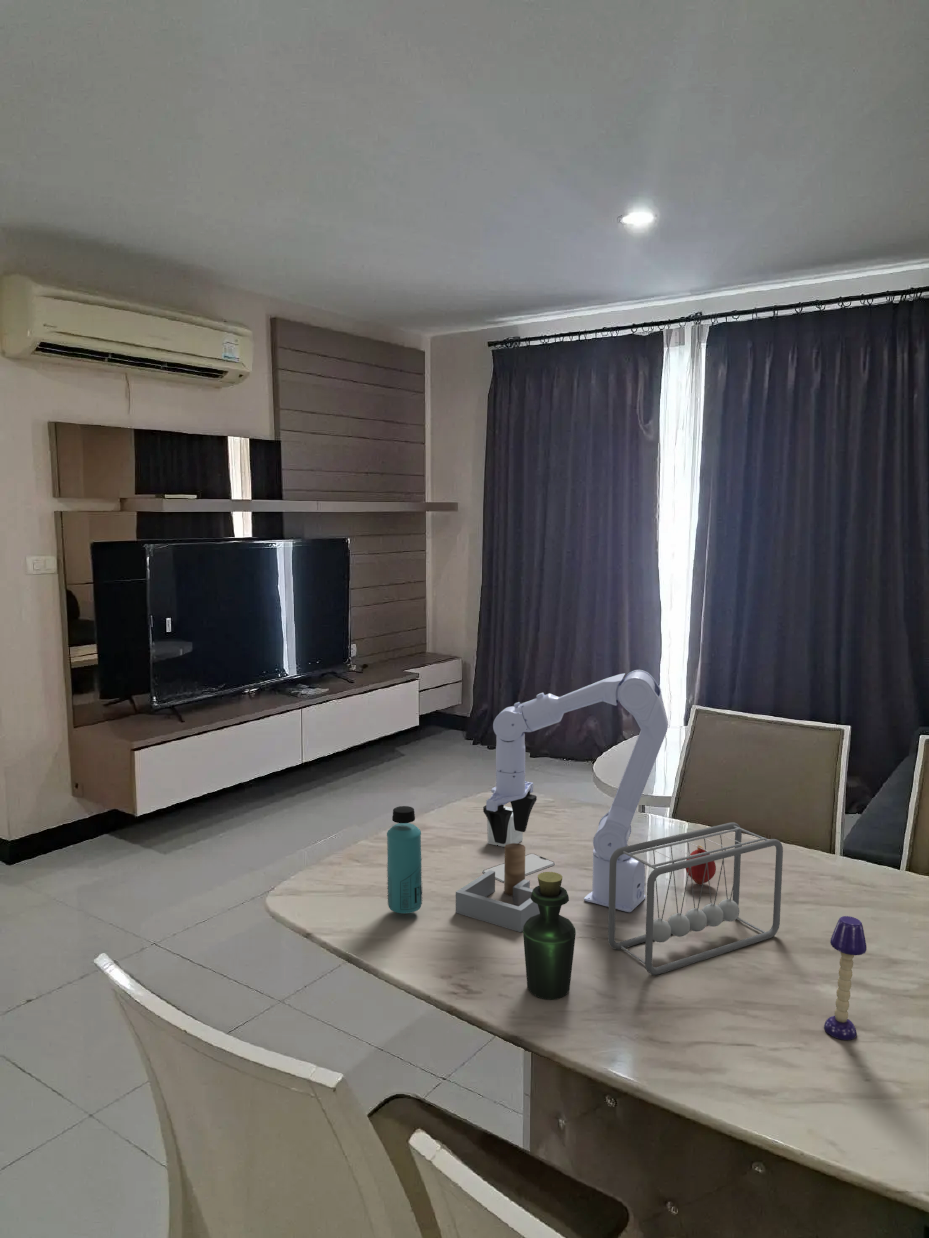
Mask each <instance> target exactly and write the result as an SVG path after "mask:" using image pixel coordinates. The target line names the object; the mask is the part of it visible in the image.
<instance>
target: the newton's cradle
mask: <svg viewBox="0 0 929 1238" xmlns="http://www.w3.org/2000/svg"><path fill="white" fill-rule="evenodd" d="M733 832H734V839H732V838H731V837H729V836H726V835H724V834H728V833H733ZM742 832H743V833H746V834H748V835H751V836H752V837H756V838H758V839H753V840H752V839H751V840H749V841H745V842H742V839H743V838H742V837H743V835H742V834H743V833H742ZM718 835H719V837H720V843H717V842H715V841H712V840H710V839H708V838H711V837H716V836H718ZM722 837H724V838H727V839H730V840H731V841H734V844H732V845H729V846H724V845H723V843H722V842H723V841H722ZM698 840H703V842H704V847H703V848H704V849H703V848H701V849H703V850H705V852H704V853H699V854H695V855H690V854H691V853H690V845H693V846H695V847H696V848H697V847H698V846H699V845H696V844H693V843H692V842H695V841H698ZM706 841H709V842H712V843H713V844H715V845H718V846H720V848H716V849H713V850H707V845H706ZM686 843H687V848H688V850H687V851H688V853H687V852H684V851H683V850H680V849H679V848H677V847H674V846H677V845H681V844H686ZM774 846H775V869H774V871H775V873H774V888H773V890H774V891H773V913H772V915H773V917H772V925H771V927H770V929H769V930H767V931H764V930H763V929H761V928H760V927H758V926H755V925H753V924H751V923H749V922H748V921H746V920H744V919H742V918H740V917H739V916H740V913H741V911H740V907H739V906H740V889H741V888H740V887H741V884H740V883H741V882H740V881H741V865H742V864H741V862H742V861H741V860H742V859H741V855H742V854H747V853H750V852H751V853H752V852H755V851H758V850H762V849H767V848H770V847H771V848H772V847H774ZM668 847H670V853H671V857H668V856H667V855H665V854H662V853H661V852H659V851H656V850H661V849H665V848H668ZM783 847H784V846H783V845H782V842H781V841H780V840H779V839H775V838H770V839H768V838H767V837H763V836H761V835H759V834H756V833H754V832H751V831H749V830H746V829H744V828H742V827H741V826H740V825H739V824H738V823H736V822H734V821H733V822H727V823H723V824H719V825H714V826H710V827H706V828H705V827H704V828H701V829H697V830H693V831H688V832H683V833H678V834H675V835H669V836H666V837H661V838H658V839H653V840H649V841H643V842H639V843H635V844H631V845H630V844H629V845H628V846H625V847H621V848H619V849H617V850H615V851H614V853H613V854H612V856H611V858H610V867H609V907H608V912H607V913H608V914H607V915H608V916H607V917H608V919H607V920H608V922H607V940H608V944H609V947H611V948H612V949H613V950H618V951H619V950H623V951H624V952H626V953H627V954H629V955H630V956H631V957H633V958H634V959H635V960H638V961H639V962H641V963H642V964H644V966H645V970H646V971H647V973H648V974H650V975H652V976H658V975H661V974H664V973H667V972H670V971H673V970H677V969H679V968H683V967H687V966H689V965H693V964H695V963H698V962H702V961H704V960H708V959H710V958H714V957H717V956H719V955H723V954H726V953H729V952H732V951H735V950H738V949H741V948H743V947H747V946H750V945H753V944H757V943H759V942H763V941H765V940H769V939H771V938H773V937H775V935H776V934H777V933H778V931H779V929H780V926H781V925H780V923H781V907H782V906H781V900H782V884H783V883H782V881H783V861H784V860H783V857H784V848H783ZM673 848H674V849H676V850H678V851H680V852H681V853H682V852H683V853H684V854H686V855H687V856H684V857H680V858H676V859H675V858H673ZM699 848H700V847H699ZM652 851H653V852H652ZM706 851H707V852H706ZM630 852H631V853H630ZM647 852H652V853H653V864H651V863H648V862H646V861H645V860H643V859H641V858H639V857H637V856H635V855H639V854H642V853H647ZM655 853H658V854H659V855H662V856H664V857H666V858H668V859H669V860H668V861H663V862H660V863H656V857H655ZM622 854H626V855H628V856H630V857H632V858H634V859H636V860H637V861H639V862H641V863H643V864H644V865H645V866H647V867H649V868H651V869H653V870H652V871H651V872H650V873H649V875H648V878H647V881H646V909H645V910H646V911H645V913H646V915H645V934H643V935H642V934H641V935H638V936H636V937H632V938H628V939H625V940H622V941H618V942H616V909H615V902H616V863H617V859H618V858H619V856H620V855H622ZM707 854H708V855H707ZM709 854H710V855H709ZM702 855H706V856H702ZM698 856H702V857H698ZM694 857H698V858H694ZM731 857H733V881H732V887H731V892H730V893H731V894H730V898H729V897H728V888H727V881H726V879H727V878H726V871H725V859H726V858H731ZM690 858H691V859H690ZM692 858H694V859H692ZM687 859H689V860H687ZM719 860H722V862H721V867H720V872H719V875H718V876H719V877H718V881H717V882H718V883H717V886H716V891H715V895H714V896H715V897H714V901H713V902H712V894H711V892H712V891H711V883H710V880H709V873H708V882H707V883H708V888H709V889H708V890H709V899H710V903H707V904H706V905H704V906H703V907H702V909H700V908H699V907H700V902H701V897H702V891H703V886H704V884H703V882H704V877H705V872H706V867H707V872H708V862H712V861H714V862H716V861H719ZM704 863H706V867H705V872H704V877H703V882H702V885H701V889H700V893H699V898H698V899H699V900H698V904H697V907H696V905H695V893H694V883H693V879H692V872H691V867H692V866H696V865H700V864H704ZM688 867H689V870H690V872H691V877H690V876H689V870H688V873H687V876H686V881H685V887H684V892H683V897H682V902H681V903H682V904H681V908H680V912H679V907H678V898H677V887H676V879H675V878H676V877H675V871H679V870H683V869H685V868H688ZM722 870H723V875H724V884H725V894H726V898H725V899H723V900H720V902H719V903H718V905H717V904H716V901H717V895H718V890H719V886H720V880H721V874H722ZM667 873H670V876H669V881H668V885H667V889H666V890H667V891H666V896H665V899H664V900H665V901H664V904H663V910H662V915H661V918H660V909H659V897H658V884H657V878H658V877H659V876H660V875H665V874H667ZM672 874H673V885H674V893H675V904H676V913H673V914H671V915H670V916H669V917H668V920H665V919H663V918H664V915H665V908H666V904H667V899H668V893H669V890H670V884H671V880H672ZM689 877H690V880H691V891H692V898H693V899H692V901H693V908H691V909H688V910H687V911H686V913H685V914H684V913H682V912H683V907H684V901H685V896H686V891H687V885H688V881H689ZM655 892H656V905H657V918H654V915H655V913H654V910H655ZM736 920H738V921H740V922H742V923H743V924H745V925H747V926H749V927H751V928H753V929H755V930H756V931H758V932H760V933H758V934H756V935H751V936H749V937H746V938H743V939H739V940H737V941H734V942H731V943H728V944H724V945H720V946H719V947H715V948H712V949H709V950H705V951H702V952H699V953H696V954H693V955H691V956H687V957H684V958H680V959H678V960H675V961H671V962H668V963H665V964H662V965H659V966H656V967H655V966H653V946H654V945H653V943H654V942H656V943H665V942H667V941H668V940H669V939H670V938H671V935H673V936H675V937H679V938H681V937H684V936H686V935H687V934H688V933H689V932H690V931H693V932H701V931H703V930H704V929H705V928H706V927H707V926H709V927H718V926H719V925H721V924H722V923H723V921H725V922H728V923H729V922H734V921H736ZM642 943H643V944H645V945H644V946H645V947H644V949H645V953H644V960H643V959H642V958H641V957H639V956H637V955H636V954H634V953H633V952H631V951H630V950H628V949H627V948H629V947H632V946H636V945H639V944H642Z"/></svg>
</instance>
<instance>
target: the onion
mask: <svg viewBox="0 0 929 1238" xmlns="http://www.w3.org/2000/svg"><path fill="white" fill-rule="evenodd" d="M697 846H698V847H697ZM697 846H696V848H697V849H695V850H693V851H692V852H691V853H690V855H695V854H699V853H704V852H705V850H703V849H705V847H703V846H702V845H697ZM699 847H700V848H699ZM701 848H703V849H701ZM706 852H708V850H707V851H706ZM710 854H711V853H710ZM710 854H709V855H710ZM707 855H708V854H707ZM702 856H706V855H702ZM702 856H698V857H702ZM698 857H694V858H698ZM694 858H692V859H694ZM690 859H691V858H690ZM686 860H689V859H686ZM705 867H706V863H704V864H700V865H696V866H692V867H691V872H692V881H694V883H695V884H697V885H699V886H702V882H703V877H704V872H705ZM684 869H685V871H686V873H687V874H688V870H689V867H688V868H684ZM691 872H690V870H689V876H688V877H689V878H691ZM716 872H717V865H716V861H712V862H708V872H707V867H706V872H705V877H704V882H703V885H704V884H706V883H709V882H708V873H709V881H711V880H712V879H713V878H714V876H715V875H716Z"/></svg>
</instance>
